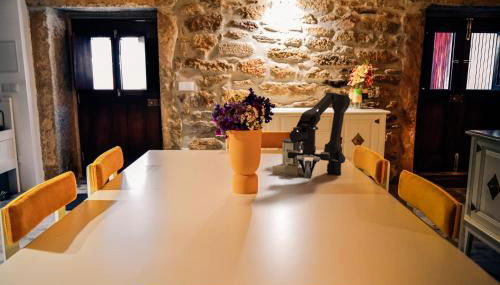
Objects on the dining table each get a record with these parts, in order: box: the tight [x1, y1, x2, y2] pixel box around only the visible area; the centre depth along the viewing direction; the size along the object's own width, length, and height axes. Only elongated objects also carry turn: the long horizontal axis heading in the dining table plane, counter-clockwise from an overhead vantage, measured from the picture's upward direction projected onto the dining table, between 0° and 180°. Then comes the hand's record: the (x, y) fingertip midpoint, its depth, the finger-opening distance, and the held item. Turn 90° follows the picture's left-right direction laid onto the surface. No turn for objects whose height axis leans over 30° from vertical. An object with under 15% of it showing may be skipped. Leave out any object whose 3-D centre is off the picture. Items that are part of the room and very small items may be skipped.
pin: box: [304, 159, 313, 180], centre depth 170 cm, size 3×3×8 cm
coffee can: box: [281, 137, 302, 166], centre depth 201 cm, size 10×10×14 cm
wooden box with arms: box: [272, 163, 313, 178], centre depth 182 cm, size 20×6×5 cm, turn 74°
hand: (307, 173), depth 170 cm, fingers closed on pin, 3 cm apart
